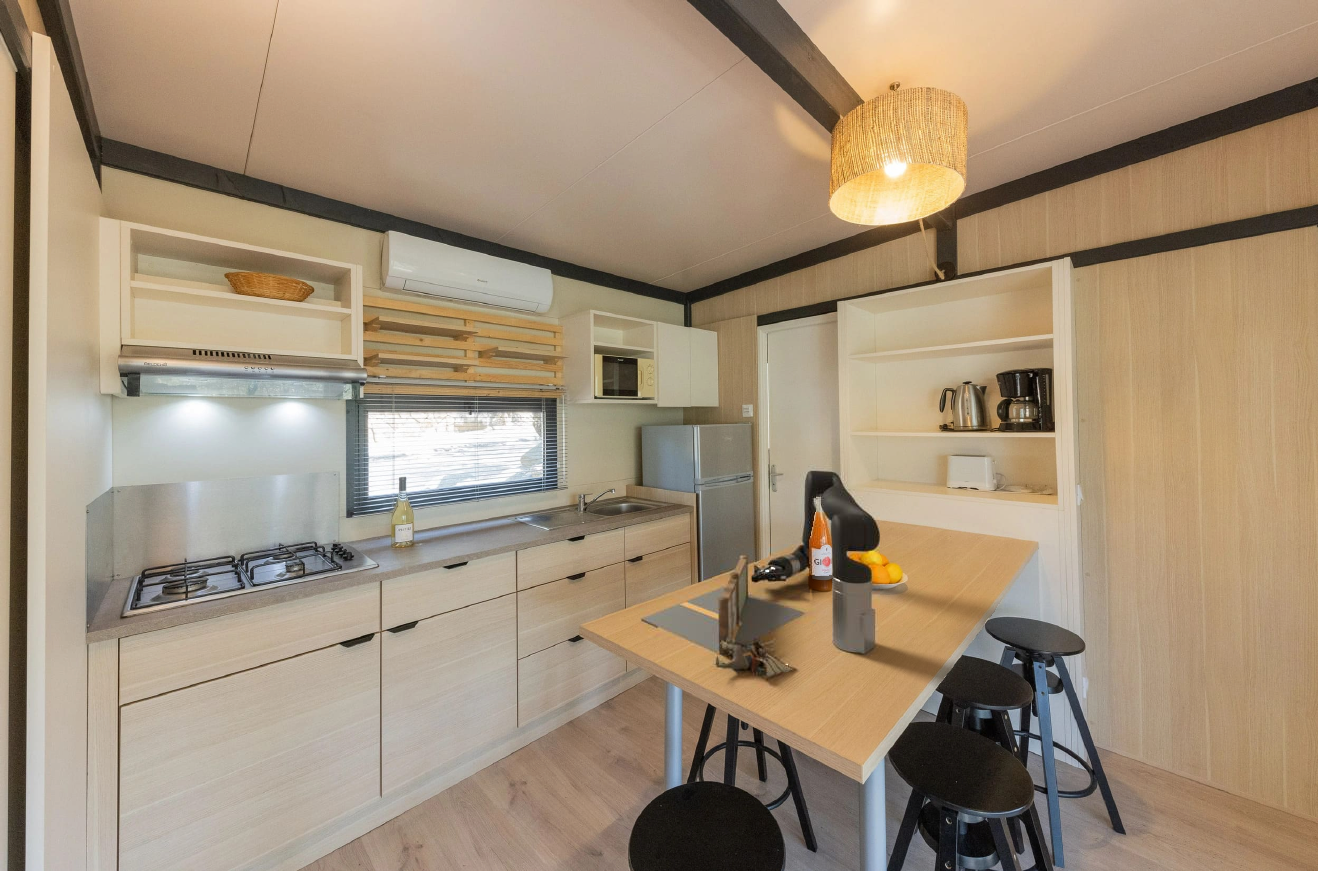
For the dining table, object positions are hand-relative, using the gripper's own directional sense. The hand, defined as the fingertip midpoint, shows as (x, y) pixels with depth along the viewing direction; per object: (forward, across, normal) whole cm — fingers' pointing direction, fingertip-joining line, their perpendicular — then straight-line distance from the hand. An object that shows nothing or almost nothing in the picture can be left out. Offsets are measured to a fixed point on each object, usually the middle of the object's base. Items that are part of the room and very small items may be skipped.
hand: (753, 579), depth 154 cm
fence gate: (+10, +2, +6) cm, 11 cm away
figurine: (+34, +26, +7) cm, 43 cm away
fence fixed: (+27, +12, +6) cm, 30 cm away
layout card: (+17, +2, +6) cm, 19 cm away
